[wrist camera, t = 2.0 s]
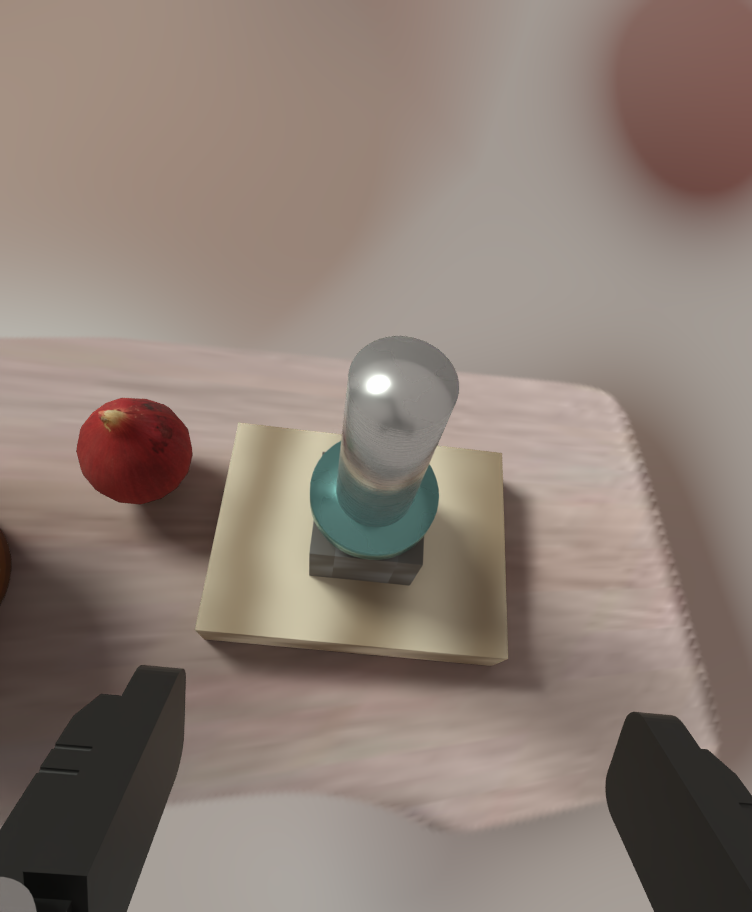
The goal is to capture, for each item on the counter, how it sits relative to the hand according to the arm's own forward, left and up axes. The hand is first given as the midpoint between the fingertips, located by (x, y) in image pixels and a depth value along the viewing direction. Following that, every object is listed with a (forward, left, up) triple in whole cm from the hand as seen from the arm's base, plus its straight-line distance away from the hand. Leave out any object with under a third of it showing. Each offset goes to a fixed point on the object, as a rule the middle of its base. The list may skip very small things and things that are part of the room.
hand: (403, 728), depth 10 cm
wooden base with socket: (0, +10, -22) cm, 24 cm away
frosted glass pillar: (0, +10, -19) cm, 21 cm away
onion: (-13, +13, -22) cm, 29 cm away
